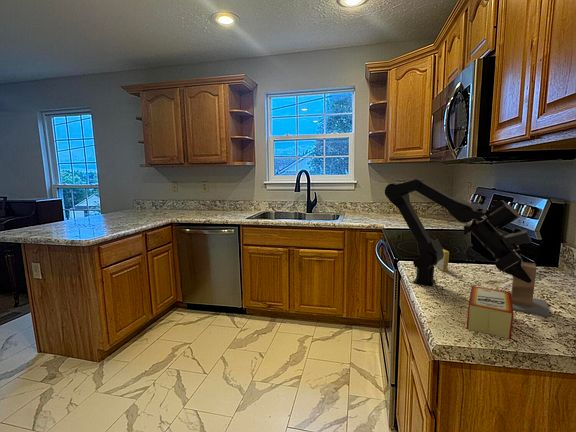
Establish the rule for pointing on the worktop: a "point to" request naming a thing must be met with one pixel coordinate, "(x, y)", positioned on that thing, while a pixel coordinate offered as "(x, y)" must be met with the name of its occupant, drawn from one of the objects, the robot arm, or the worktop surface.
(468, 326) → the baking soda box
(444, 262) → the candy box
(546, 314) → the charcoal mat
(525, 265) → the walnut block
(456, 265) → the worktop surface
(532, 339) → the worktop surface
